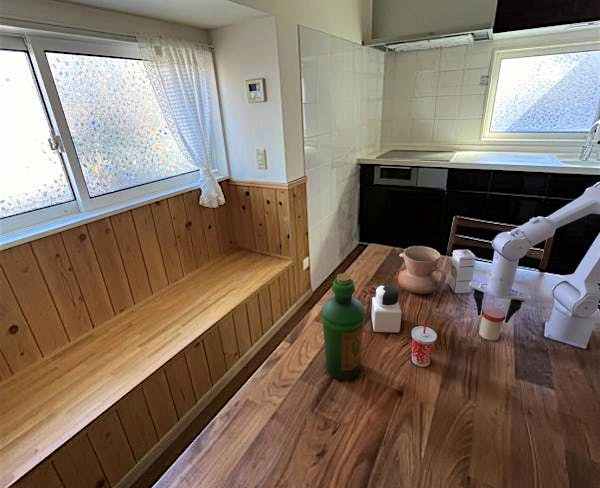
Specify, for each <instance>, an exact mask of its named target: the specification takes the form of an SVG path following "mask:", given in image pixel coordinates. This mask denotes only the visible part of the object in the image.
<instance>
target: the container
mask: <svg viewBox="0 0 600 488" xmlns="http://www.w3.org/2000/svg"><path fill="white" fill-rule="evenodd" d="M399 293H400V291H399V290H398V288H397V287H395V286H393V285H390V284H383V285H380V286H378V287H377V288H376V289H375V296H373V297H372V298H371V323H372V330H373V332H374V333H398V334H399V333H400V331H401V323H402V312H403V311H402V309H401V305H400V302H399V295H400V294H399Z"/></svg>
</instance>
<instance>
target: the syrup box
mask: <svg viewBox="0 0 600 488" xmlns="http://www.w3.org/2000/svg"><path fill="white" fill-rule="evenodd" d="M476 259H477V256H476V255H475V254H474V253H473V252H472V250H470V249H455V250H454V249H453V251H452V258H451V264H450V271H449V279H448V280H449V281H448V287H449V288H450V289H451V290H452V292H453V293H454V294H471V291H469V290H468V289H469V284H470V282H473V279H474V272H475V266H476V261H477V260H476Z"/></svg>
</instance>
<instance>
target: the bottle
mask: <svg viewBox="0 0 600 488" xmlns="http://www.w3.org/2000/svg"><path fill="white" fill-rule="evenodd" d="M335 277H336V278H335V279H334V280H333V282H332V285H331V292H332V294H334V295H333V296H330V297H328V299H327V300H326V301H325V302H324V304H323V306H322V307H321V319H322V328H323V339H324V350H325V363H326V369H327V372H328V374H330V376H332V378H335V379H338V380H342V381H345V380H351V379H353V378H355V377H356V376H357V375H358V373H359V370H360V368H361V367H360V365H361V356H362V349H363V339H364V331H365V330H364V329H365V321H366V308H365V306H364V304H363V303H362V302H361V300H359V299H358V298H356V297H355V296H353V295H354V294H355V292H356V287H355V282H354V281H353V279H352V277H351V275H350V274H348V273H339V274H338V273H337V275H336V276H335Z"/></svg>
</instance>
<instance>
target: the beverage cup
mask: <svg viewBox="0 0 600 488" xmlns="http://www.w3.org/2000/svg"><path fill="white" fill-rule="evenodd" d="M427 320H428V317H427V316H426V317H424V324H423V326H421V325H419V326H415V327H414V328H412V330H411V338H412V341H411V342H412V343H411V361H412V363H413V364H414V365H415V366H417V367H421V368H426V367H429V365H430V364H431V359H432V355H433V350H434V346H435V342H436V341H437V338H438V336H437V333H436V332H435V330H433V329H432V328H430V327H427V324H428V321H427Z"/></svg>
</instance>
